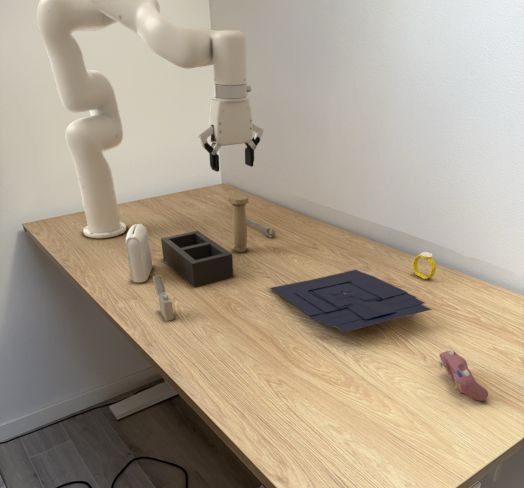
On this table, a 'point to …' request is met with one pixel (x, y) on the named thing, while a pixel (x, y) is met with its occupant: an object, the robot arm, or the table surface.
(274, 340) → the table surface
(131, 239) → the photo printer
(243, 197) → the handle
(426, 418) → the table surface
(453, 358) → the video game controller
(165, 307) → the lighter
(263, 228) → the combination wrench
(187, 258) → the holder
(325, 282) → the navy flat block
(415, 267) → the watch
